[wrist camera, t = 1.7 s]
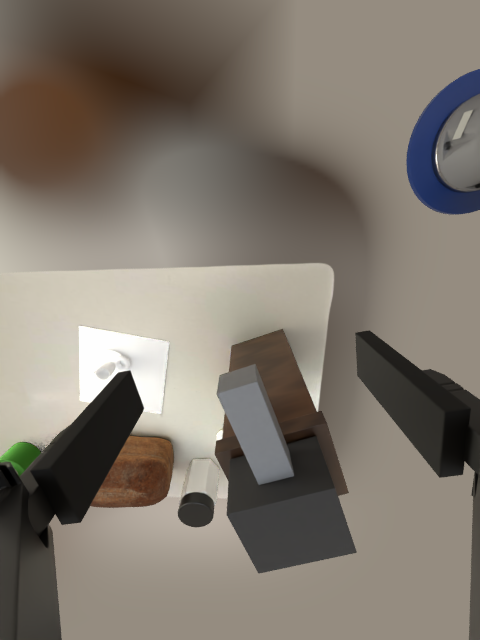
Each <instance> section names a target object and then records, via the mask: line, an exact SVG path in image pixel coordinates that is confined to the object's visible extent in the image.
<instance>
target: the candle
mask: <svg viewBox="0 0 480 640" xmlns="http://www.w3.org/2000/svg"><path fill="white" fill-rule="evenodd" d="M40 454H41V451H40V450H39V449H38V448H37V447H35V446H34V445H32V444H29V443H25V442H20V443H16V444H14V445H13V446H12V447H11V448H10V449H9V450H8V451H7V452H6V453H5V454H4V455H2V456H1V457H0V463H1V462H11V464H12V466H13V467H14V469H15V471H16V472H17V474H18V475H19V477H20V475H21V474H22V473H23V472H24V471H25V470H26V469H27V468H28V467H29V466H30V465H31V463H32V462H33V461H34V460H35V459H36V458H37V457H38V456H39V455H40Z"/></svg>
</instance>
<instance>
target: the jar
mask: <svg viewBox="0 0 480 640" xmlns="http://www.w3.org/2000/svg"><path fill="white" fill-rule="evenodd" d="M219 470H220V469H219V468H218V467H217V466H216V465H215V463H214V462H213V461H212V460H211V459H210V458H205V459H193V460H192V462H191V464H190V466H189V467H188V469H187V471H186V476H185V480H184V484H183V488H182V493H181V497H180V501H179V505H180V506H179V510H178V517H179V519H180V520H181V522H183V523H184V524H186V525H188V526H191V527H202V526H205V525H207V524H209V523H210V522H211V521H212V519H213V514H214V506H215V504H216V500H217V491H218V480H219Z"/></svg>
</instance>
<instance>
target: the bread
mask: <svg viewBox="0 0 480 640" xmlns="http://www.w3.org/2000/svg"><path fill="white" fill-rule="evenodd" d="M173 463H174V454H173V447H172V445H171V442H170V441H168V440H166V439H161V438H156V437H136V436H129V437H128V439H127V441H126V442H125V444H124V446H123V448H122V450H121V451H120V453H119V455H118V457H117V459H116V460H115V462H114V464H113V466H112V467H111V469H110V471H109V473H108V475H107V476H106V478H105V480H104V482H103V484H102V485H101V487H100V489H99V491H98V492H97V494H96V496H95V498H94V500H93V501H92V503H91V505H90V506H93V507H109V508H111V507H112V508H114V507H143V506H150V505H154V504H156V503H158V502H160V501H161V500H163V499H164V498H165V497H166V496H167V494H168V491H169V488H170V482H171V478H172V470H173Z"/></svg>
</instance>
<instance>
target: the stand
mask: <svg viewBox="0 0 480 640" xmlns="http://www.w3.org/2000/svg"><path fill="white" fill-rule="evenodd" d="M254 364H256V366H257V369H258V372H259V374H260V377H261V379H262V382H263V385H264V387H265V390H266V392H267V395H268V397H269V400H270V403H271V405H272V408H273V410H274V413H275V415H276V418H277V421H278V423H279V426H280V428H281V431H282V433H283V436H284V439H285V441H286V444H288V443H292V442H296V441H299V440H303V439H307V438H310V437H314V436H317V439H318V442H319V445H320V447H321V450H322V453H323V456H324V459H325V461H326V464H327V467H328V470H329V472H330V475H331V478H332V481H333V484H334V486H335V489H336V492H337V495H338V496H339V495H343V494H347V493H349V492H348V489H347V486H346V482H345V479H344V476H343V473H342V470H341V467H340V463H339V460H338V457H337V454H336V451H335V448H334V444H333V441H332V438H331V435H330V432H329V429H328V426H327V422H326V421H325V418H324V416H323V413H322V411H319V412H317V411H316V409H315V406H314V404H313V401H312V399H311V397H310V394H309V392H308V389H307V387H306V384H305V382H304V380H303V377H302V375H301V372H300V370H299V367H298V365H297V362H296V360H295V358H294V355H293V353H292V350H291V348H290V345H289V343H288V341H287V338H286V336H285V333H284V331H283V329H281V330H278V331H275V332H272V333H269V334H266V335H263V336H260V337H257V338H254V339H251V340H248V341H245V342H242V343H239V344H236V345H233V346H232V347H231V357H230V367H229V372H232V371H235V370H238V369H241V368H244V367H247V366H250V365H254ZM215 456H216V458H217V460H218V462H219V464H220V466H221V468H222V469H223V471H224V473H225V475H226V477H227V479H228V481H229V467H230V459H234V458H237V457H241V456H245V454H244V452H243V450H242V448H241V446H240V443H239V441H238V439H237V437H236V435H235V433H234V430H233V428H232V426H231V424H230V422H229V420H228V417H227V415H226V413H225V416H224V426H223V435H222V439H220V440H217V441H216V447H215Z"/></svg>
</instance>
